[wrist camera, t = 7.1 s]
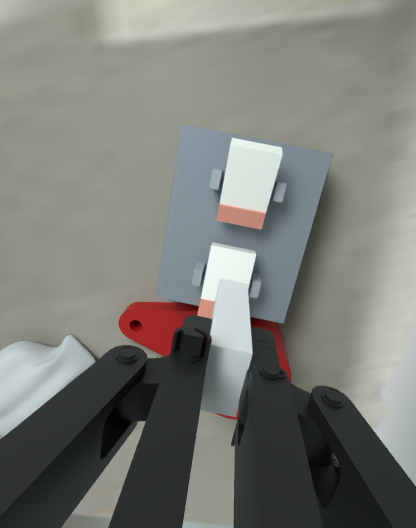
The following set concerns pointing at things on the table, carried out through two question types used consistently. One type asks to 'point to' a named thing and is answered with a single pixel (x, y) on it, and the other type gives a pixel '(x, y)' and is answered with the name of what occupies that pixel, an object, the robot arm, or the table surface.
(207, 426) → the table surface
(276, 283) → the panel
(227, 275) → the rocker
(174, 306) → the lever
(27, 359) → the shell shaped sculpture
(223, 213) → the rocker
